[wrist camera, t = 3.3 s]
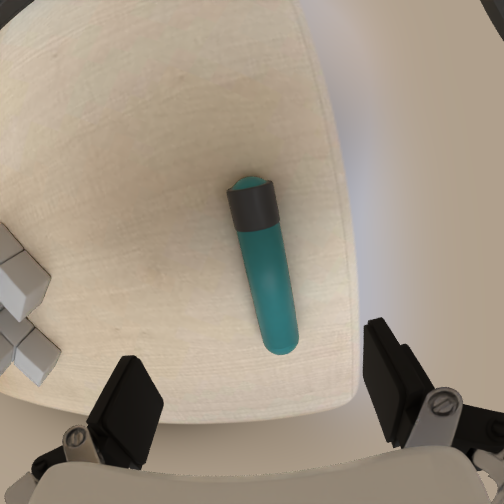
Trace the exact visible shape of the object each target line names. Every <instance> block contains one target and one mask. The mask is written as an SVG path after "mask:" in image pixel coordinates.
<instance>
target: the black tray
mask: <svg viewBox="0 0 504 504" xmlns="http://www.w3.org/2000/svg"><path fill="white" fill-rule="evenodd" d="M33 1H34V0H0V29H1V28H2V27H3V26H4V25H5V24H6V23H8V22H9V21H10V20H11V19H12V18H13V17H14V16H15V15H17V14H18V13H19V12H20V11H21V10H23V9H24V8H25V7H26V6H27V5H29V4H30V3H31V2H33Z"/></svg>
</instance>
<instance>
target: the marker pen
mask: <svg viewBox="0 0 504 504" xmlns="http://www.w3.org/2000/svg"><path fill="white" fill-rule="evenodd" d="M227 196H228V200H229V205H230V209H231V213H232V217H233V222H234V226H235V229H236V231H237V235H238V239H239V244H240V248H241V252H242V256H243V260H244V265H245V269H246V273H247V277H248V281H249V285H250V290H251V294H252V298H253V302H254V306H255V310H256V314H257V319H258V323H259V327H260V331H261V335H262V339H263V343H264V345H265V347H266V348H267V349H268V350H269V351H270V352H271V353H273V354H276V355H285V354H288V353H290V352H291V351H293V350H294V349H295V347H296V346H297V344H298V340H299V333H298V326H297V320H296V314H295V307H294V301H293V295H292V289H291V283H290V277H289V272H288V266H287V260H286V255H285V249H284V243H283V238H282V233H281V227H280V222H279V221H280V217H279V212H278V207H277V202H276V196H275V191H274V186H273V182H272V181H270V180H263V179H262V178H259V177H253V176H250V177H245V178H243V179H241V180H239V181H238V182H237V183H236V184H235V185H234V186H233V187H232V188H230V189H228V190H227Z"/></svg>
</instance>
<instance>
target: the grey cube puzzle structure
mask: <svg viewBox="0 0 504 504" xmlns="http://www.w3.org/2000/svg"><path fill="white" fill-rule="evenodd" d="M50 279H51V277H50V276H49V275H48V274H47V273H46V272H45V271H44V270H43V269H42V268H41V266H40V265H39V264H38V263H37V262H36V261H35V260H34V259H33V258H32V257H31V256H30V255H29V254H28V253H27V251H23V247H22V246H21V245H20V244H19V242H18V241H17V240H16V239H15V238H14V237H13V235H12V234H11V233H10V232H9V231H8V229H7V228H6V227H5V226H4V225H3V224H2V223H1V224H0V376H1V375H2V374H3V373H4V371H5V370H6V369H7V368H8V367H9V366H10V364H11V362H13V361H14V365H15V366H16V367H17V368H18V369H19V370H20V371H22V372H23V373H24V374H25V375H26V376H27V377H28V378H29V379H30V380H31V381H32V382H34V383H35V384H36V385H37V386H38V387H40V386H41V384H42V383H43V381H44V380H45V379H46V377H47V376H48V375H49V373H50V372H51V371H52V369H53V368H54V367H55V365H56V362H57V360H58V358H59V356H60V353H61V351H60V350H59V349H58V348H57V347H56V346H55V345H54V344H53V343H51V342H50V341H49V340H48V339H47V338H46V337H45V336H44V335H43V334H42V333H41V332H40V331H39V330H38V329H36V328H35V329H34V326H33V324H32V323H31V322H30V321H29V320H28V319H27V318H26V316H28V315H29V314H30V313H31V312H32V311H33V310H34V309H35V308H36V307H37V306H39V305H40V304H41V303H42V301H43V298H44V295H45V292H46V290H47V287H48V284H49V282H50ZM33 329H34V330H33Z"/></svg>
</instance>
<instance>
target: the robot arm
mask: <svg viewBox="0 0 504 504" xmlns="http://www.w3.org/2000/svg"><path fill="white" fill-rule="evenodd" d="M363 349H364V352H363V378H364V382H365V384H366V387H367V389H368V392H369V395H370V397H371V400H372V403H373V405H374V408H375V411H376V414H377V416H378V419H379V422H380V425H381V427H382V430H383V433H384V436H385V439H386V441H387V442H388V443H389V442H392V445H393V448H396V447H398V446H401V449H400V450H396V451H391V452H387V453H383V454H379V455H375V456H370V457H367V458H363V459H358V460H354V461H350V462H345V463H340V464H335V465H330V466H324V467H319V468H313V469H307V470H300V471H293V472H284V473H275V474H263V475H249V476H192V475H176V474H165V473H164V474H163V473H155V472H147V471H140V470H141V468H142V465H143V464H145V463H146V460H147V457H148V454H149V450H150V447H151V444H152V441H153V437H154V434H155V431H156V428H157V424H158V422H159V418H160V415H161V412H162V409H163V406H164V402H163V399H162V397H161V395H160V394H159V392H158V390H157V388H156V387H155V385H154V383H153V382H152V380H151V378H150V376H149V374H148V373H147V371H146V369H145V367H144V365H143V363H142V362H141V360H140V359H139V358H137V357H136V356H134V355H130V356H122V357H121V359H120V361H119V362H118V364H117V366H116V367H115V369H114V371H113V373H112V375H111V376H110V378H109V380H108V382H107V384H106V385H105V387H104V389H103V391H102V393H101V394H100V396H99V398H98V400H97V402H96V404H95V406H94V407H93V409H92V411H91V413H90V415H89V417H88V419H87V421H86V422H87V424H88V426H87V427H85V426H83V425H75V426H72V427H71V428H69V429H68V430H67V431H66V432H65V434H64V435H63V440H62V443H63V445H62V446H60V447H58V448H56V449H54V450H52V451H50V452H48V453H46V454H44V455H42V456H40V457H38V458H37V459H36V460H35V461H34V462H33V464H32V468H31V470H32V473H30V472H27V473H26V474H25V475H24V476H23V477H21V478H20V479H19V480H18V481H17V482H16V483H14V484H13V485H12V486H11V487H9V488H8V489H7V491H6V493H5V502H6V504H504V413H501V412H496V411H492V410H487V409H482V408H478V407H473V406H469V405H465V404H463V400H462V397H461V395H460V394H459V393H458V392H457V391H456V390H454V389H452V388H449V387H441V388H436V389H435V388H434V386H433V384H432V383H431V381H430V379H429V378H428V376H427V375H426V373H425V371H424V370H423V368H422V366H421V365H420V363H419V362H418V360H417V358H416V357H415V355H414V354H413V352H412V350H411V349H410V347H409V346H408V345H407V344H402V345H400V344H399V342H398V341H397V339H396V338H395V336H394V334H393V333H392V331H391V330H390V328H389V327H388V325H387V324H386V322H385V320H384V319H383V318H382V317H381V318H377V319H373V320H369V321H368V325H365V326H364V348H363ZM128 468H130V469H128ZM133 469H135V470H133ZM481 470H484V471H485V472H487V473H488V474H489V475H488V477H490V478H492V479H493V480H494V481H495V482H496V483H497V486H498V490H497V494H496V496H495V498H494V499H493V501H492V502H491V501H490V499H489V496H488V494H487V491H486V489H485V487H484V484H483V482H482V480H481V478H480V476H479V474H478V473H477V471H481Z"/></svg>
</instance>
